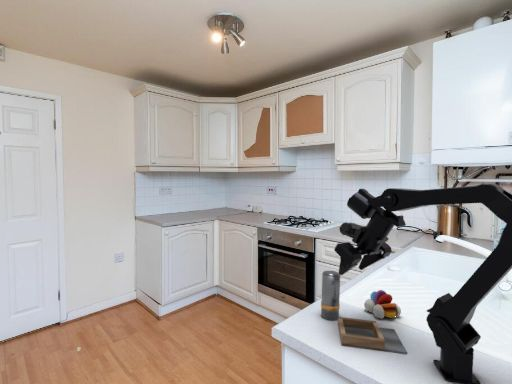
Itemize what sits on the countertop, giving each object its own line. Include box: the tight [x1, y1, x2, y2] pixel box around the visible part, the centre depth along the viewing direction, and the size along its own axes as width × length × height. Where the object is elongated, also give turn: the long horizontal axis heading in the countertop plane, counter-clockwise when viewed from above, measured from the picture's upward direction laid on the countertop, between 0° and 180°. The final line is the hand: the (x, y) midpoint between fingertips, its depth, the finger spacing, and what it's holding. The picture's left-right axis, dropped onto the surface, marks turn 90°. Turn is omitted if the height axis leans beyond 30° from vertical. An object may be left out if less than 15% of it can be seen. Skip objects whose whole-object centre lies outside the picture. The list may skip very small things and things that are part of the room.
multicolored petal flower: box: [363, 289, 402, 320], centre depth 87 cm, size 8×10×7 cm
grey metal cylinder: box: [320, 270, 341, 322], centre depth 84 cm, size 5×5×13 cm
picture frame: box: [337, 316, 408, 355], centre depth 73 cm, size 11×15×2 cm
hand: (350, 271), depth 82 cm, fingers open, 9 cm apart
